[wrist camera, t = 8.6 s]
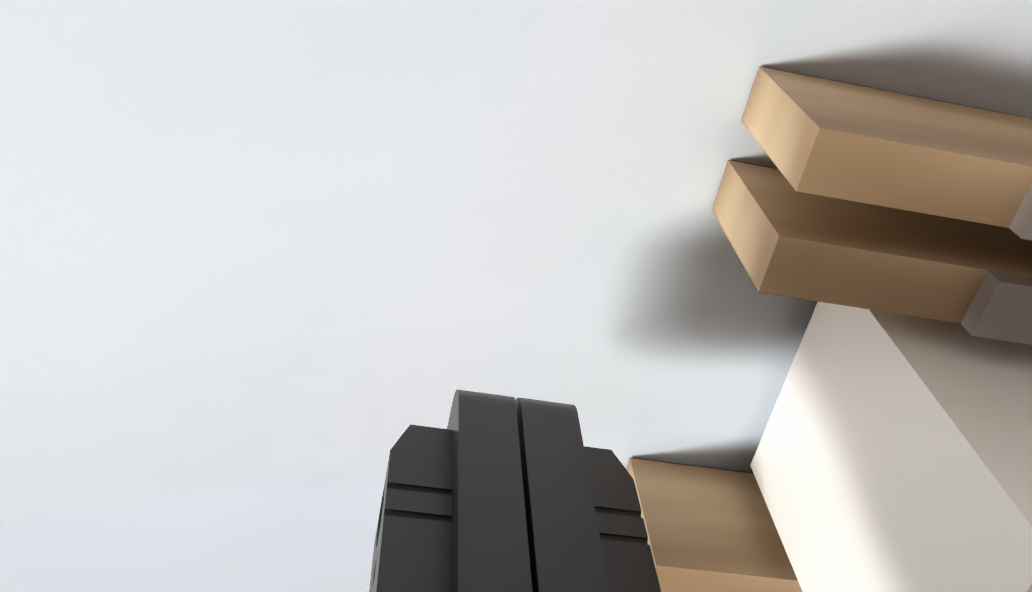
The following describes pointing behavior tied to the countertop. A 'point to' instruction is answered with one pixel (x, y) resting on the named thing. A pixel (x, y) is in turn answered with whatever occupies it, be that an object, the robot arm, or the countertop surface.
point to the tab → (901, 457)
